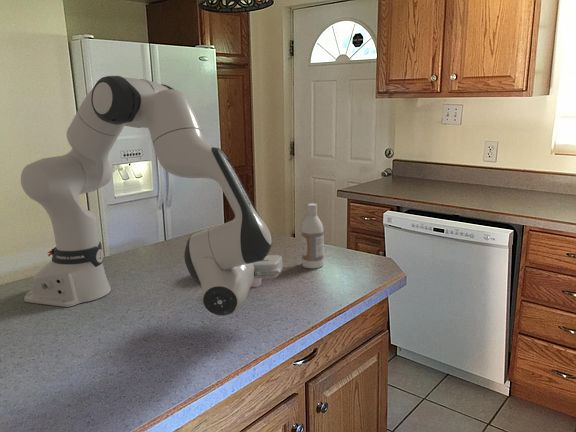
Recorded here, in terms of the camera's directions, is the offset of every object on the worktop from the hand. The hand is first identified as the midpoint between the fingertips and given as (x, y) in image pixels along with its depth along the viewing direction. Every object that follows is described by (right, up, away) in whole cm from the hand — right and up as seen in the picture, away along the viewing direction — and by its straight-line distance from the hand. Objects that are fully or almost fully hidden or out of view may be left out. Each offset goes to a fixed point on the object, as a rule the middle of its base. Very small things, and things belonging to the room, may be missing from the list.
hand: (246, 255), depth 128 cm
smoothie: (+1, -10, +15) cm, 18 cm away
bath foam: (+19, -6, +30) cm, 36 cm away
